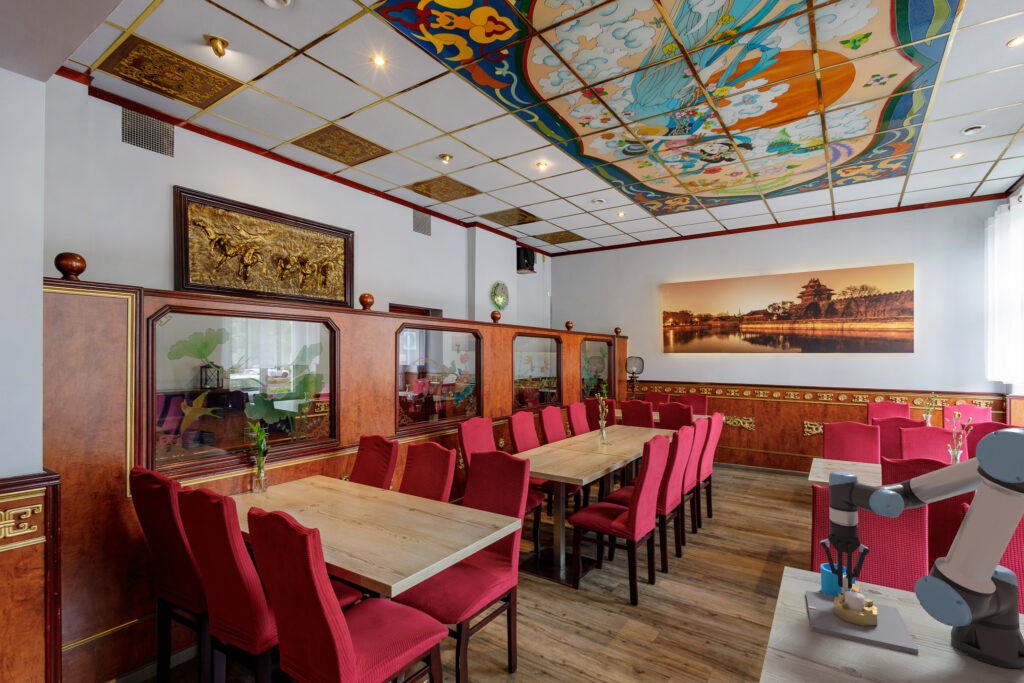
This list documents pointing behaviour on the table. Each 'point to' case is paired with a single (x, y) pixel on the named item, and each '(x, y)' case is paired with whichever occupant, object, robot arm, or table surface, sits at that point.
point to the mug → (831, 580)
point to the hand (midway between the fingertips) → (844, 597)
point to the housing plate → (883, 634)
